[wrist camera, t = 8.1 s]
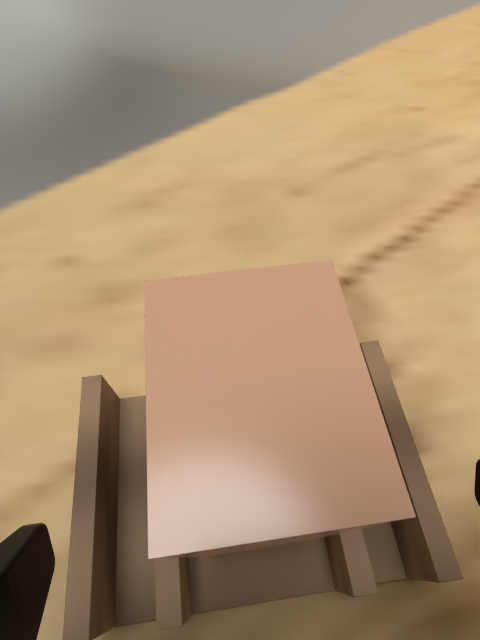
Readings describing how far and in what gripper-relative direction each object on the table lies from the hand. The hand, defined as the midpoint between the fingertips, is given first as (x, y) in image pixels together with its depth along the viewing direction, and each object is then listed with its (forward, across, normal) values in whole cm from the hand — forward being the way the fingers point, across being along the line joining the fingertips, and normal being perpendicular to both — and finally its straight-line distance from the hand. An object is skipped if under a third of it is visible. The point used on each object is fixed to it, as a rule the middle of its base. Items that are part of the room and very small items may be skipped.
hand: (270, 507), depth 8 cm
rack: (+9, 0, +6) cm, 11 cm away
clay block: (+8, 0, +5) cm, 10 cm away
